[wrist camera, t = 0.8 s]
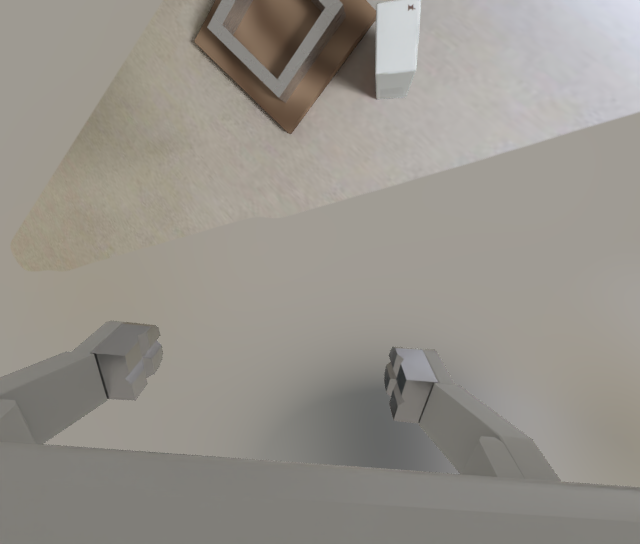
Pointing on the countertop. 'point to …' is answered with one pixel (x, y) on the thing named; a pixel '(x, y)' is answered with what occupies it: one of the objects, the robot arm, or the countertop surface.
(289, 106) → the socket board
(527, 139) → the countertop surface
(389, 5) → the skincare box
